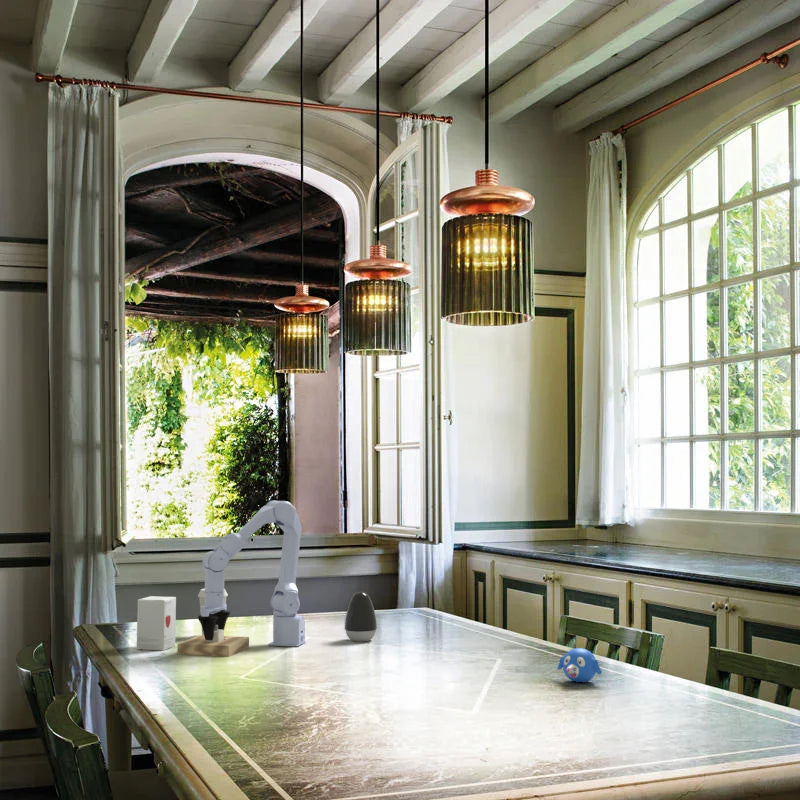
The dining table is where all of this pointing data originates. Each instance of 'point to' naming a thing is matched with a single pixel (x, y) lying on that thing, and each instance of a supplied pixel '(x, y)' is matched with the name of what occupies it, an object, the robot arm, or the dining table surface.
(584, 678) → the blue mole toy
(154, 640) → the supplement box
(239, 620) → the dining table surface
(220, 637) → the plug
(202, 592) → the coffee cup
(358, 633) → the two-tone egg ornament
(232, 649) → the socket plate
